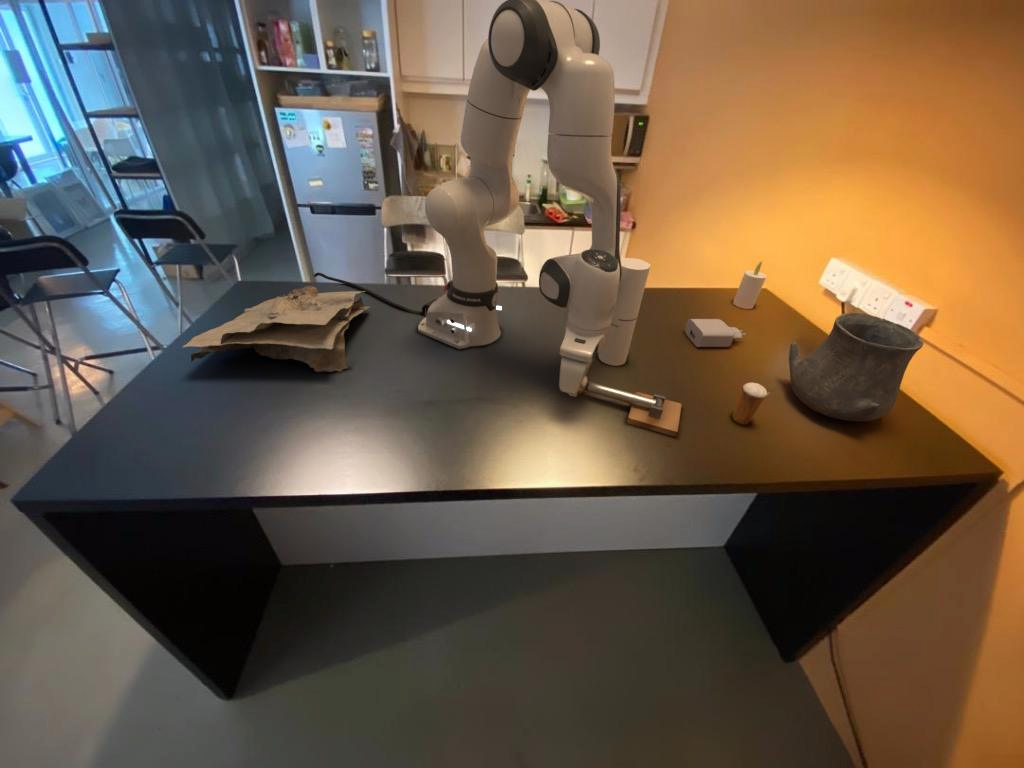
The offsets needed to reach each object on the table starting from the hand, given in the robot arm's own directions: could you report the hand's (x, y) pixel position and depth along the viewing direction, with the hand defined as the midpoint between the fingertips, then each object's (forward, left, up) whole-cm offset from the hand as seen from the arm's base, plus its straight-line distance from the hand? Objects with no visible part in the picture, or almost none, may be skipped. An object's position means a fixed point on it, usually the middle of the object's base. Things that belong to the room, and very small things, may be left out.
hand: (576, 386), depth 95 cm
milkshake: (+35, +7, -2) cm, 36 cm away
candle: (+37, +72, -2) cm, 81 cm away
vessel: (+55, +23, -2) cm, 60 cm away
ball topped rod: (+8, 0, -2) cm, 8 cm away
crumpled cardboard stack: (-71, -11, -2) cm, 71 cm away
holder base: (+17, 0, -2) cm, 18 cm away
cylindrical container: (+4, +19, -2) cm, 20 cm away
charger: (+29, +42, -2) cm, 51 cm away
